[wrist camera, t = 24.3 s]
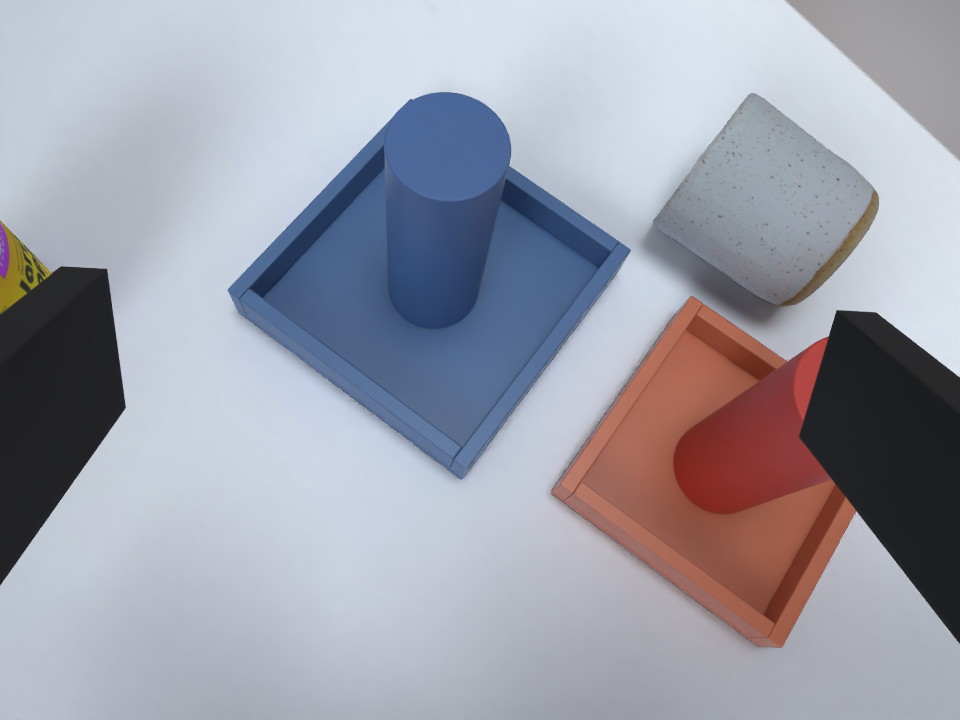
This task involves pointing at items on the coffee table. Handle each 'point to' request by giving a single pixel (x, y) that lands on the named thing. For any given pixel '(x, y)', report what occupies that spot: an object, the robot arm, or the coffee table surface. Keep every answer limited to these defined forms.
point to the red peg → (754, 442)
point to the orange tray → (672, 515)
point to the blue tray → (418, 350)
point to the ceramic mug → (770, 206)
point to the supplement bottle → (17, 269)
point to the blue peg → (441, 204)
